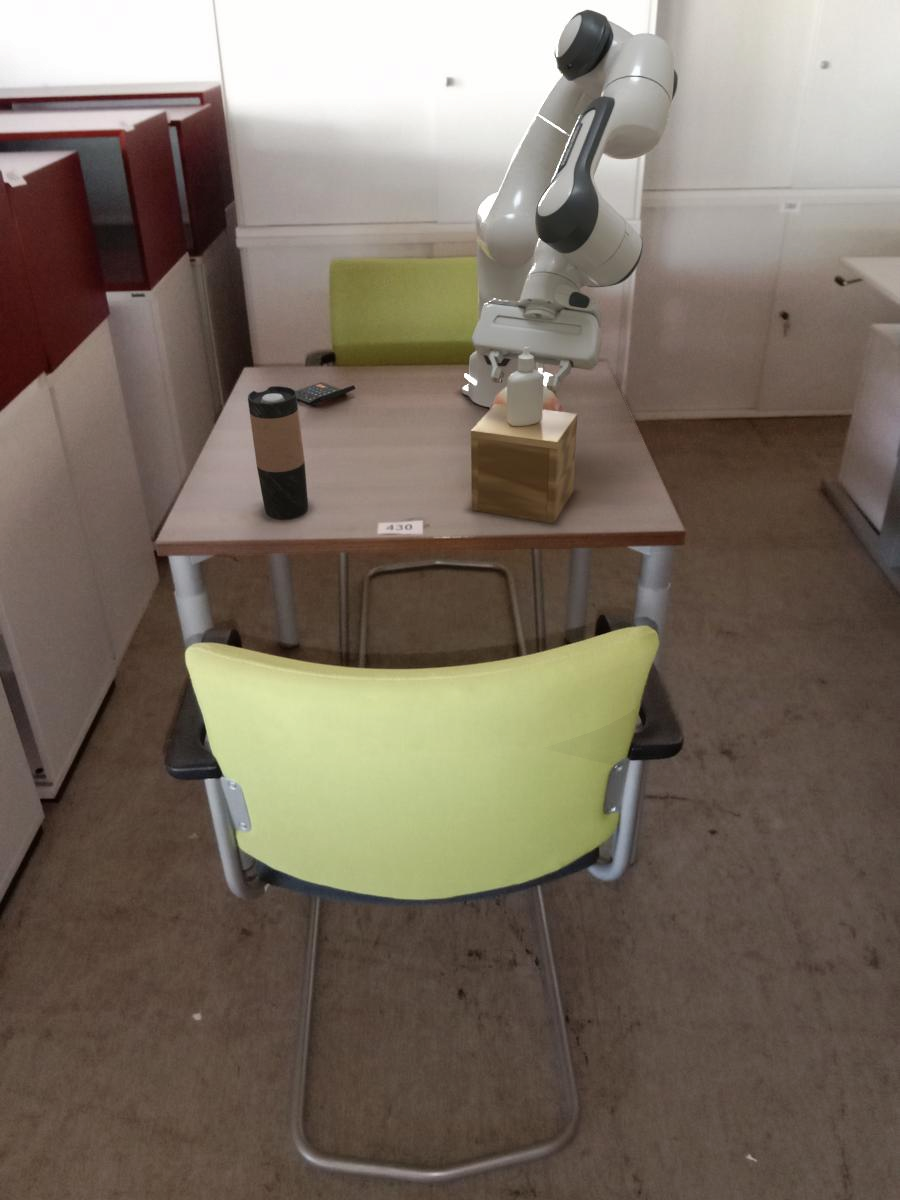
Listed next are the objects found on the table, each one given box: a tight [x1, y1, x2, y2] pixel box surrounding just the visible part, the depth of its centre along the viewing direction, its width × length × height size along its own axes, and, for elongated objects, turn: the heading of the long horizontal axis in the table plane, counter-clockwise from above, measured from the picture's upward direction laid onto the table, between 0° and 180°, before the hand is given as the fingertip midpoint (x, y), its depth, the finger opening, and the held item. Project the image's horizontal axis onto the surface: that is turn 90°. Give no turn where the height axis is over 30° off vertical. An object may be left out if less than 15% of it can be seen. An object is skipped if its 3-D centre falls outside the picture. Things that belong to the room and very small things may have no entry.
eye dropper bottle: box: [507, 347, 544, 426], centre depth 144 cm, size 4×6×12 cm
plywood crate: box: [470, 404, 578, 524], centre depth 151 cm, size 12×14×14 cm
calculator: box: [294, 382, 356, 407], centre depth 197 cm, size 9×12×3 cm
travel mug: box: [247, 385, 309, 521], centre depth 149 cm, size 8×8×20 cm
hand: (523, 385), depth 143 cm, fingers open, 8 cm apart
